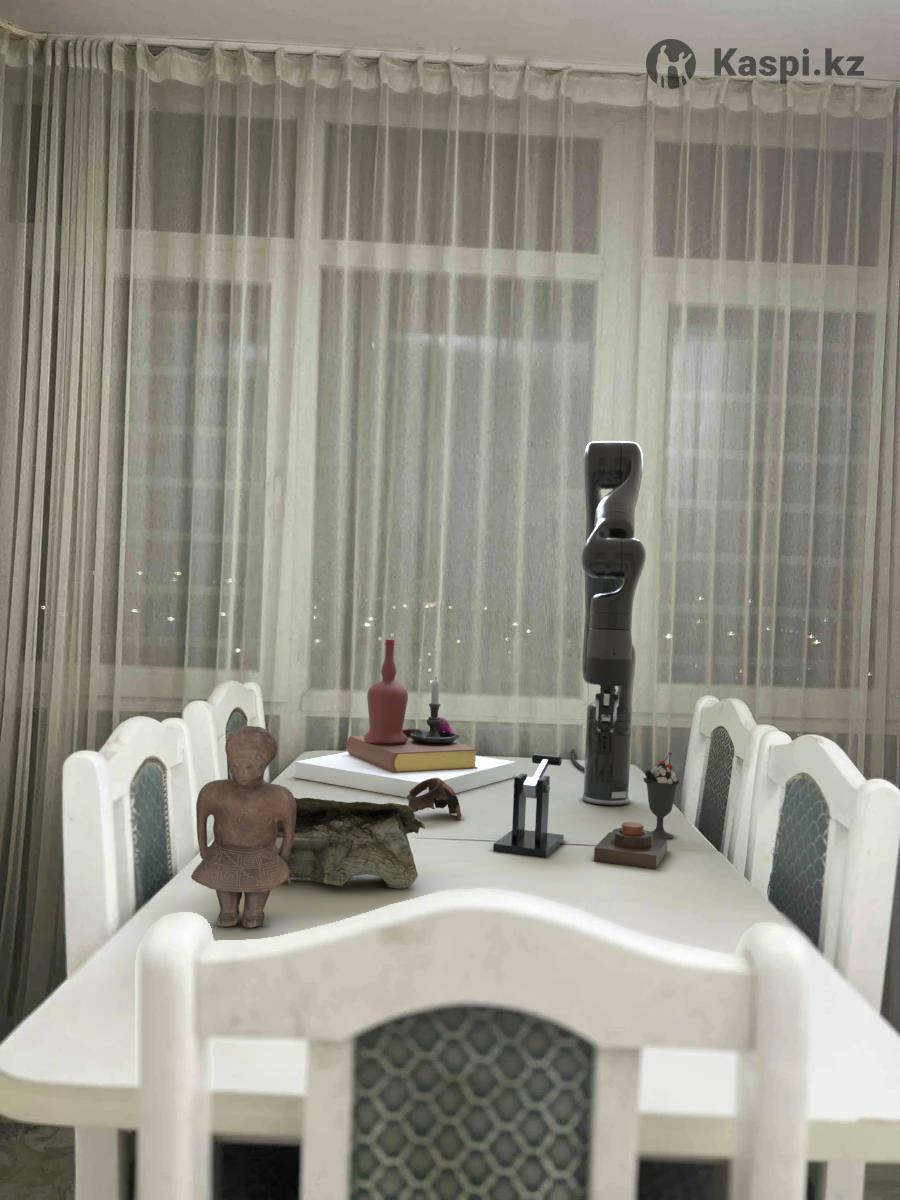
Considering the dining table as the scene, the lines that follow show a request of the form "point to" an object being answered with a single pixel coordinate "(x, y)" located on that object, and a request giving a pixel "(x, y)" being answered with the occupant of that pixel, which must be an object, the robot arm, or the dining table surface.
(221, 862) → the clay figurine
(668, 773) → the sundae
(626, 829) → the button
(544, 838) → the bracket
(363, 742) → the decorative still life
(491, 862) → the dining table surface
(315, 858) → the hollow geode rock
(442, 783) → the brown broken pot shard
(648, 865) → the button block
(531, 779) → the lever
